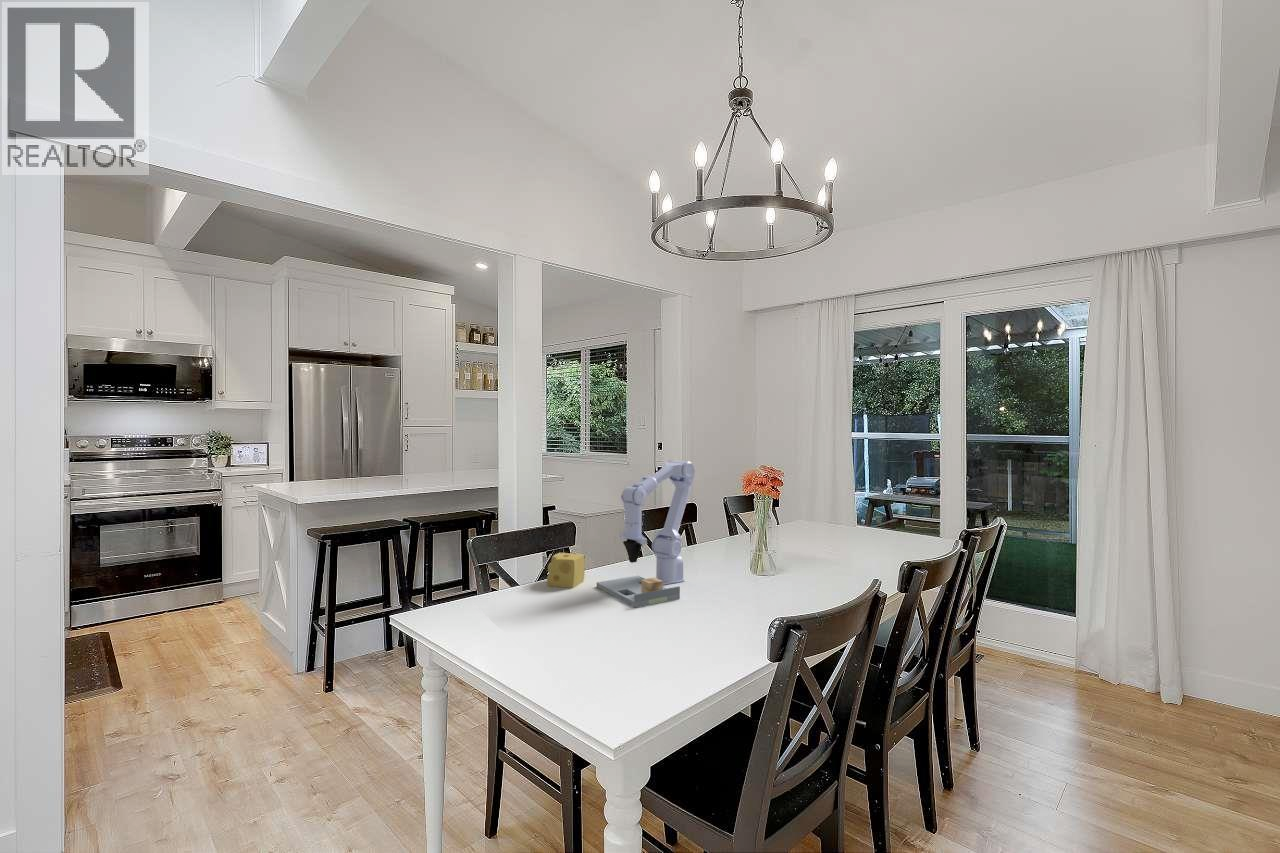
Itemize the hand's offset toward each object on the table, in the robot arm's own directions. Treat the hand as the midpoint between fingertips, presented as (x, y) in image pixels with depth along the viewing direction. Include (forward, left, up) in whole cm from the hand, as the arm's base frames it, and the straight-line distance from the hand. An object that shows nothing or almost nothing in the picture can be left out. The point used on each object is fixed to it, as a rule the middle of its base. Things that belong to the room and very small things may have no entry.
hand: (633, 561), depth 201 cm
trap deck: (0, +3, -10) cm, 10 cm away
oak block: (0, +12, -8) cm, 15 cm away
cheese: (+15, -20, -10) cm, 27 cm away
